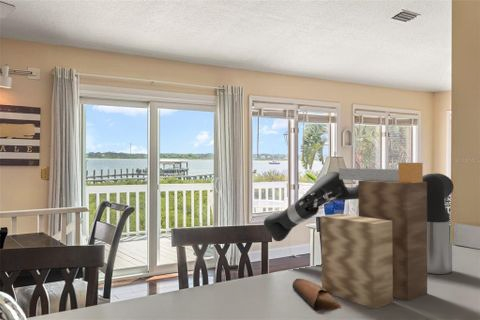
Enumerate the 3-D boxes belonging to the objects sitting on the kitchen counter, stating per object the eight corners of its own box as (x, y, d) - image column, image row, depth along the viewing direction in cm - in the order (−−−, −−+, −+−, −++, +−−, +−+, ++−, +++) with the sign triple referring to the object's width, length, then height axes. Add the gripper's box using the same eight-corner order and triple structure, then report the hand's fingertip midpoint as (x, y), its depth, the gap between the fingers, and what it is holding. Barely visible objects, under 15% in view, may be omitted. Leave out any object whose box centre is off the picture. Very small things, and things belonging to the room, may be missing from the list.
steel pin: (337, 179, 135) (337, 162, 135) (348, 178, 138) (348, 162, 138) (411, 183, 114) (411, 163, 114) (422, 182, 117) (422, 162, 117)
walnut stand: (359, 286, 126) (358, 180, 125) (378, 280, 132) (378, 179, 131) (407, 300, 113) (407, 183, 113) (427, 293, 119) (426, 181, 119)
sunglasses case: (345, 308, 108) (332, 287, 107) (323, 323, 107) (310, 302, 106) (318, 287, 125) (307, 268, 125) (299, 300, 124) (288, 282, 124)
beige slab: (322, 291, 122) (321, 216, 122) (339, 285, 127) (339, 213, 126) (374, 308, 107) (374, 223, 107) (392, 302, 112) (392, 220, 112)
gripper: (284, 202, 148) (313, 181, 137) (312, 199, 157) (341, 179, 146) (292, 221, 145) (322, 201, 134) (319, 217, 154) (350, 198, 143)
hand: (332, 190), depth 140 cm, fingers open, 8 cm apart
